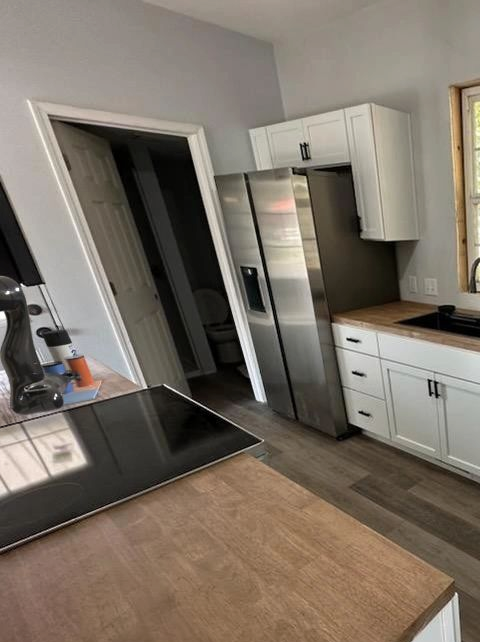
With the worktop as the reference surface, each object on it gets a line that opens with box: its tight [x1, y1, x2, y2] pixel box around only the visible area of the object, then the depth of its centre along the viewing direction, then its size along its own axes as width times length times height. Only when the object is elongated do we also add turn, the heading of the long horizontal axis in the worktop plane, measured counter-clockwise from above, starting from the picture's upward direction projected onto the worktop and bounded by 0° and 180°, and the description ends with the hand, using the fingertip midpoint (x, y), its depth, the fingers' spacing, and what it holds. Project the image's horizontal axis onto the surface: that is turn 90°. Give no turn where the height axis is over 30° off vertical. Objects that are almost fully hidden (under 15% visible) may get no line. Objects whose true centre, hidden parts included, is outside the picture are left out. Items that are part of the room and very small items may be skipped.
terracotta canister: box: [64, 354, 95, 387], centre depth 152 cm, size 5×5×11 cm
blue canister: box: [41, 361, 74, 395], centre depth 145 cm, size 5×5×11 cm
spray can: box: [41, 329, 78, 385], centre depth 156 cm, size 7×7×20 cm
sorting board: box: [62, 380, 103, 406], centre depth 146 cm, size 14×24×1 cm, turn 39°
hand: (58, 374), depth 146 cm, fingers closed on blue canister, 5 cm apart
